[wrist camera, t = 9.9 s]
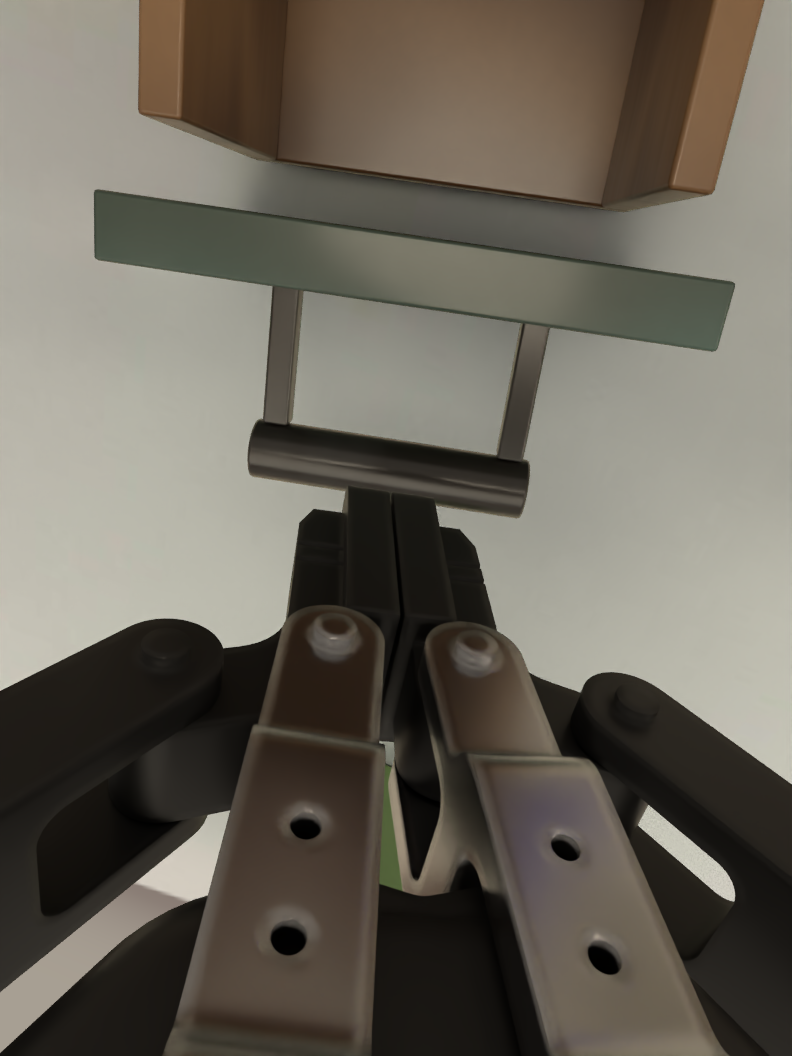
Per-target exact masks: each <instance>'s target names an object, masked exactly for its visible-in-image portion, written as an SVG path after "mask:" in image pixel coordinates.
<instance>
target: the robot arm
mask: <svg viewBox="0 0 792 1056" xmlns="http://www.w3.org/2000/svg"><path fill="white" fill-rule="evenodd" d="M483 583H484V579H483V575H482V571H481V569H480V563H479V559H478V555H477V552H476V548H475V546H474V545H473V544H472V543H471V542H470V541H469V539H468V538H467V537H466V536H465V535H464V534H463V533H462V532H461V531H460V529H453V528H446V527H439V521H438V516H437V511H436V506H435V501H434V498H432V497H425V496H418V495H411V494H405V493H398V492H392V493H391V494H390V492H389V491H383V490H376V489H369V488H363V487H356V486H349V485H348V486H347V489H346V493H345V498H344V504H343V509H342V513H339V512H332V511H325V510H317V509H313V510H312V511H311V512H310V513H309V514H308V515H307V516H306V517H305V518H304V519H303V520H302V521H301V522H300V523H299V530H298V537H297V543H296V550H295V557H294V564H293V571H292V578H291V585H290V591H289V599H288V607H287V615H286V621H285V623H284V625H283V627H282V628H281V629H280V630H279V631H278V632H277V633H276V634H274V635H273V636H271V637H269V638H268V639H266V640H263V641H261V642H258V643H255V644H251V645H246V646H240V647H231V648H223V647H222V645H221V643H220V641H219V639H218V638H217V637H216V636H215V635H214V634H213V633H212V632H210V631H209V630H208V629H206V628H204V627H202V626H200V625H198V624H195V623H192V622H189V621H185V620H179V619H154V620H148V621H144V622H140V623H137V624H135V625H132V626H130V627H128V628H126V629H124V630H122V631H120V632H118V633H116V634H114V635H112V636H110V637H108V638H106V639H104V640H102V641H100V642H98V643H96V644H94V645H92V646H90V647H88V648H86V649H84V650H82V651H80V652H78V653H76V654H74V655H72V656H70V657H67V658H65V659H63V660H61V661H59V662H57V663H55V664H53V665H51V666H49V667H47V668H45V669H43V670H41V671H39V672H37V673H35V674H33V675H31V676H29V677H27V678H25V679H23V680H21V681H19V682H17V683H15V684H13V685H11V686H9V687H7V688H5V689H3V690H1V691H0V992H1V991H2V990H3V989H4V988H6V987H7V986H8V985H9V984H11V983H12V982H13V981H14V980H16V979H17V978H18V977H19V976H20V975H21V974H23V973H24V972H25V971H27V970H28V969H29V968H30V967H32V966H33V965H34V964H35V963H36V962H38V961H39V960H40V959H41V958H43V957H44V956H45V955H46V954H48V953H49V952H50V951H51V950H52V949H54V948H55V947H56V946H57V945H58V944H60V943H61V942H62V941H64V940H65V939H66V938H67V937H68V936H70V935H71V934H72V933H73V932H75V931H76V930H77V929H78V928H80V927H81V926H82V925H83V924H84V923H85V922H87V921H88V920H89V919H91V918H92V917H93V916H94V915H96V914H97V913H98V912H99V911H100V910H102V909H103V908H104V907H105V906H107V905H108V904H109V903H110V902H111V901H113V900H114V899H115V898H116V897H118V896H119V895H120V894H121V893H123V892H124V891H125V890H126V889H128V888H129V887H130V886H131V885H133V884H134V883H135V882H136V881H137V880H139V879H140V878H141V877H142V876H144V875H145V874H146V873H147V872H149V871H150V870H151V869H152V868H154V867H155V866H156V865H157V864H158V863H160V862H161V861H162V860H163V859H165V858H166V857H167V856H168V855H170V854H171V853H172V852H173V851H174V850H176V849H177V848H178V847H179V846H181V845H182V844H183V843H184V842H186V841H187V840H188V839H189V838H190V837H192V836H193V835H194V834H195V833H196V832H197V831H198V830H199V829H200V828H201V826H202V825H203V824H204V822H205V820H206V818H207V815H209V814H214V813H219V812H224V811H229V810H230V814H229V817H228V821H227V825H226V829H225V833H224V837H223V840H222V844H221V848H220V852H219V856H218V859H217V863H216V867H215V871H214V875H213V878H212V882H211V886H210V890H209V894H208V896H205V897H202V898H198V899H195V900H192V901H190V902H187V903H185V904H183V905H180V906H178V907H176V908H174V909H171V910H169V911H167V912H165V913H164V914H162V915H160V916H158V917H157V918H155V919H153V920H151V921H149V922H148V923H146V924H145V925H143V926H142V927H141V928H139V929H138V930H136V931H135V932H134V933H132V934H131V935H129V936H128V937H127V938H125V939H124V940H123V941H122V942H121V943H119V944H118V945H117V946H116V947H115V948H114V949H113V950H111V951H110V952H109V953H108V954H107V955H106V956H105V957H104V958H103V959H102V960H100V961H99V962H98V963H97V964H96V965H95V966H94V967H93V968H92V969H91V970H90V971H89V972H88V973H86V974H85V975H84V976H83V977H82V978H81V979H80V980H79V981H78V982H77V983H76V984H75V985H73V986H72V987H71V988H70V989H69V990H68V991H67V992H66V993H65V994H64V995H63V996H62V997H60V998H59V999H58V1000H57V1001H56V1002H55V1003H54V1004H53V1005H52V1006H51V1007H50V1008H49V1009H47V1011H45V1012H44V1013H43V1014H42V1015H41V1016H40V1017H39V1018H38V1019H37V1020H36V1021H35V1022H33V1023H32V1024H31V1025H30V1026H29V1027H28V1028H27V1029H26V1030H25V1031H24V1032H23V1033H22V1034H20V1035H19V1036H18V1037H17V1038H16V1039H15V1040H14V1041H13V1042H12V1043H11V1044H10V1045H9V1046H7V1047H6V1048H5V1049H4V1050H3V1051H2V1052H1V1053H0V1056H792V784H790V783H789V782H788V781H786V780H785V779H783V778H782V777H781V776H779V775H778V774H776V773H775V772H774V771H772V770H771V769H770V768H768V767H767V766H765V765H764V764H763V763H761V762H760V761H758V760H757V759H756V758H754V757H753V756H752V755H750V754H749V753H747V752H746V751H745V750H743V749H742V748H740V747H739V746H738V745H736V744H735V743H734V742H732V741H731V740H729V739H728V738H727V737H725V736H724V735H722V734H721V733H720V732H718V731H717V730H716V729H714V728H713V727H711V726H710V725H709V724H707V723H706V722H704V721H703V720H702V719H700V718H699V717H698V716H696V715H695V714H693V713H692V712H691V711H689V710H688V709H686V708H685V707H684V706H682V705H681V704H680V703H678V702H677V701H675V700H674V699H673V698H671V697H670V696H668V695H667V694H666V693H664V692H663V691H662V690H660V689H659V688H657V687H655V686H654V685H652V684H650V683H648V682H646V681H644V680H642V679H640V678H637V677H634V676H631V675H627V674H622V673H614V672H609V673H601V674H597V675H594V676H592V677H591V678H589V679H588V680H587V681H586V683H585V684H584V686H583V689H582V691H581V693H580V692H577V691H574V690H571V689H568V688H565V687H562V686H559V685H557V684H554V683H551V682H548V681H546V680H543V679H541V678H538V677H536V676H534V675H532V674H531V673H529V672H528V669H527V667H526V664H525V662H524V659H523V657H522V655H521V653H520V651H519V649H518V648H517V647H516V645H515V644H514V643H513V642H512V641H511V640H509V639H508V638H507V637H505V636H504V635H503V634H501V633H499V632H498V631H497V629H496V625H495V621H494V617H493V614H492V610H491V606H490V602H489V598H488V594H487V590H486V586H485V584H483ZM379 741H389V742H394V748H395V757H394V761H393V765H392V769H391V772H390V776H389V781H388V789H389V796H390V804H391V811H392V818H393V825H394V832H395V840H396V847H397V854H398V861H399V868H400V876H401V883H402V890H403V891H401V890H398V889H395V888H391V887H388V886H385V885H382V884H379V878H380V858H381V838H382V818H383V798H384V778H385V756H386V754H385V745H384V744H380V743H379ZM648 805H650V806H651V807H652V808H653V809H654V810H655V811H657V812H658V813H659V814H660V815H661V816H663V817H664V818H665V819H666V820H667V821H669V822H670V823H671V824H672V825H673V826H675V827H676V828H677V829H678V830H679V831H681V832H682V833H683V834H684V835H685V836H687V837H688V838H689V839H690V840H691V841H693V842H694V843H695V844H696V845H697V846H698V847H700V848H701V849H702V850H703V851H704V852H706V853H707V854H708V855H709V856H710V857H712V858H713V859H714V860H715V861H716V862H718V863H719V864H720V865H721V866H722V867H723V869H724V870H725V871H726V872H727V874H728V875H729V877H730V879H731V881H732V883H733V886H734V889H735V902H732V901H729V900H726V899H724V898H722V897H721V896H719V895H718V894H716V893H715V892H714V891H713V890H712V889H711V888H709V887H708V886H707V885H706V884H705V883H704V882H702V881H701V880H700V879H699V878H698V877H697V876H695V875H694V874H693V873H692V872H691V871H690V870H689V869H687V868H686V867H685V866H684V865H683V864H682V863H680V862H679V861H678V860H677V859H676V858H675V857H674V856H672V855H671V854H670V853H669V852H668V851H667V850H665V849H664V848H663V847H662V846H661V845H660V844H658V843H657V842H656V841H655V840H654V839H653V838H652V837H650V836H649V835H648V834H647V833H646V832H645V831H643V830H642V829H641V828H640V827H639V826H638V823H639V821H640V819H641V818H642V816H643V814H644V812H645V810H646V808H647V806H648Z"/></svg>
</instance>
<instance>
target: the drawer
mask: <svg viewBox="0 0 792 1056" xmlns="http://www.w3.org/2000/svg"><path fill="white" fill-rule="evenodd" d="M763 4H764V0H139V90H138V110H139V113H140V114H142V115H144V116H146V117H149V118H151V119H154V120H157V121H159V122H162V123H164V124H167V125H169V126H172V127H174V128H177V129H180V130H182V131H185V132H187V133H190V134H192V135H195V136H197V137H200V138H203V139H205V140H208V141H210V142H213V143H215V144H218V145H220V146H223V147H226V148H228V149H231V150H233V151H236V152H238V153H241V154H243V155H246V156H248V157H251V158H254V159H256V160H262V161H269V162H276V163H282V164H289V165H296V166H303V167H310V168H317V169H324V170H331V171H338V172H345V173H352V174H359V175H366V176H373V177H380V178H387V179H394V180H401V181H408V182H415V183H422V184H429V185H436V186H443V187H450V188H457V189H464V190H471V191H478V192H485V193H492V194H499V195H506V196H513V197H520V198H527V199H534V200H541V201H548V202H555V203H562V204H569V205H576V206H583V207H590V208H597V209H604V210H611V211H618V212H626V211H631V210H636V209H641V208H646V207H651V206H656V205H660V204H665V203H670V202H675V201H680V200H685V199H690V198H695V197H700V196H705V195H709V194H712V193H713V191H714V190H715V186H716V183H717V179H718V175H719V171H720V167H721V164H722V160H723V156H724V152H725V148H726V145H727V141H728V137H729V133H730V129H731V126H732V122H733V118H734V114H735V111H736V107H737V103H738V99H739V95H740V92H741V88H742V84H743V80H744V76H745V73H746V69H747V65H748V61H749V57H750V54H751V50H752V46H753V42H754V38H755V35H756V31H757V27H758V23H759V19H760V16H761V12H762V8H763ZM94 244H95V258H96V259H97V260H101V261H107V262H114V263H121V264H127V265H134V266H141V267H148V268H154V269H161V270H168V271H174V272H181V273H188V274H195V275H201V276H208V277H215V278H221V279H228V280H235V281H242V282H248V283H255V284H262V285H268V286H273V288H272V302H271V316H270V329H269V343H268V357H267V371H266V384H265V398H264V412H263V419H258V420H257V421H256V423H255V425H254V427H253V429H252V433H251V436H250V441H249V447H248V470H249V473H250V475H251V476H253V477H258V478H265V479H271V480H277V481H284V482H290V483H296V484H303V485H309V486H315V487H322V488H328V489H334V490H340V491H346V489H347V486H348V485H349V486H356V487H363V488H369V489H376V490H383V491H389V492H390V494H391V493H392V492H398V493H405V494H411V495H418V496H425V497H432V498H434V501H435V506H441V507H448V508H454V509H460V510H467V511H473V512H479V513H486V514H492V515H498V516H505V517H511V518H519V517H520V516H521V514H522V512H523V509H524V505H525V501H526V497H527V492H528V485H529V477H530V464H529V461H527V460H524V459H523V457H524V452H525V447H526V443H527V438H528V433H529V428H530V423H531V418H532V413H533V408H534V403H535V398H536V393H537V389H538V384H539V379H540V374H541V369H542V364H543V359H544V354H545V349H546V344H547V339H548V335H549V330H550V328H557V329H564V330H570V331H577V332H584V333H591V334H597V335H604V336H611V337H617V338H624V339H631V340H638V341H644V342H651V343H658V344H664V345H671V346H678V347H684V348H691V349H698V350H705V351H711V352H713V351H716V350H717V348H718V344H719V341H720V337H721V334H722V330H723V327H724V323H725V320H726V316H727V313H728V309H729V306H730V302H731V299H732V295H733V292H734V288H735V283H733V282H731V281H724V280H717V279H710V278H704V277H697V276H690V275H683V274H676V273H670V272H663V271H656V270H649V269H643V268H636V267H629V266H622V265H615V264H608V263H601V262H594V261H588V260H581V259H574V258H567V257H560V256H553V255H546V254H540V253H533V252H526V251H519V250H512V249H505V248H498V247H491V246H485V245H478V244H471V243H464V242H457V241H450V240H443V239H436V238H430V237H423V236H416V235H409V234H402V233H395V232H388V231H381V230H375V229H368V228H361V227H354V226H347V225H340V224H333V223H327V222H320V221H313V220H306V219H299V218H292V217H285V216H278V215H272V214H265V213H258V212H251V211H244V210H237V209H230V208H223V207H216V206H210V205H203V204H196V203H189V202H182V201H175V200H168V199H161V198H154V197H147V196H140V195H133V194H126V193H119V192H113V191H106V190H99V189H98V190H95V192H94ZM304 291H309V292H315V293H322V294H329V295H336V296H342V297H349V298H356V299H362V300H369V301H376V302H382V303H389V304H396V305H403V306H409V307H416V308H423V309H429V310H436V311H443V312H450V313H456V314H463V315H470V316H476V317H483V318H490V319H497V320H503V321H510V322H517V323H521V324H520V329H519V335H518V340H517V345H516V350H515V356H514V361H513V366H512V371H511V377H510V382H509V387H508V393H507V398H506V403H505V408H504V414H503V419H502V424H501V429H500V435H499V440H498V445H497V455H492V454H486V453H479V452H473V451H466V450H460V449H454V448H447V447H441V446H434V445H428V444H421V443H415V442H409V441H402V440H396V439H389V438H383V437H376V436H370V435H364V434H357V433H351V432H344V431H338V430H331V429H325V428H319V427H312V426H306V425H299V424H293V423H290V422H291V421H292V418H293V407H294V395H295V384H296V373H297V361H298V350H299V338H300V327H301V315H302V304H303V292H304Z"/></svg>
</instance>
